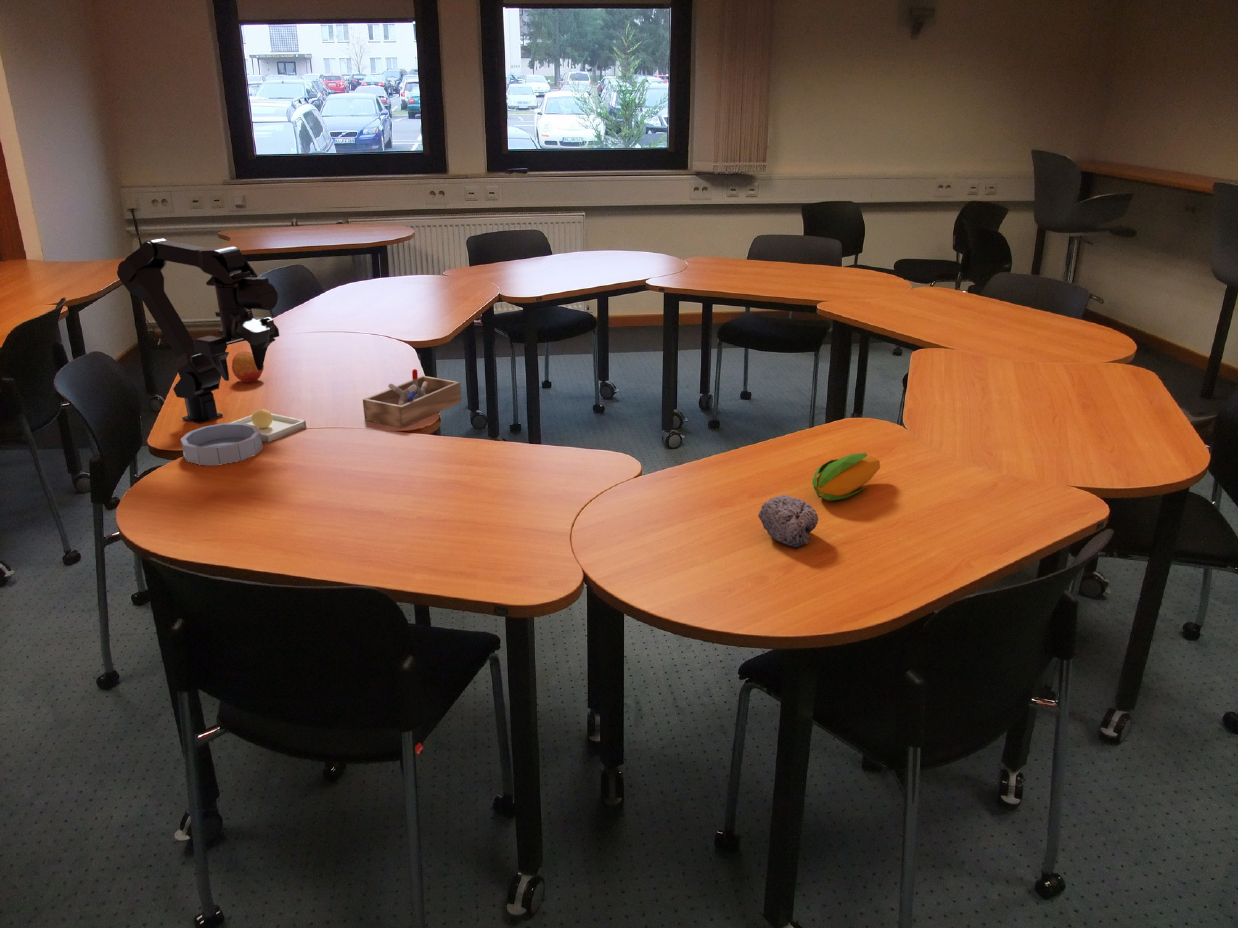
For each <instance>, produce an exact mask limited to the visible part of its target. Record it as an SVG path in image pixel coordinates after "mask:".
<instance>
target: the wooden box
mask: <svg viewBox="0 0 1238 928" xmlns="http://www.w3.org/2000/svg"><path fill="white" fill-rule="evenodd" d="M423 382H427V383H428V385H427V388H426V391H425V394H427V395H425V396H423V397H420V398H418V399H416V400H413V401H411V402H408V400H407V399H405V401H404V405H398V402H399V399H400V395H399V394H398V393H396V392H395V391H393V390H392V389H390V388H388V389H385V390H383V391H380V392H377V393H375V394H373V395H370V396H368V397H366V398H363V399H362V404H363V405H362V406H363V415H364V420H365V421H369V422H375V423H378V424H382V425H387V426H394V427H398V428H402V429H405V428H406V427H408V426H411V425H413V424H415V423H417V422H420V421H422V420H424V419H425V418H426V419H427V418H428V417H431V416H433V415H435V414H437V413H439V412H441V411H443V410H446V409H449V408H451V407H452V406H455V405H457V404H459V403H462V393H461V392H462V391H461V382H460V381H455V380H449V379H443V378H438V377H432V376H428V375H427V376H426V375H421V376H418V386H419V388H420V389H421V387H422V384H423ZM412 385H413V379H411V380H408V381H406V382H404V383H401V384H398V385H396V386H397V387H398V388H400V389H401V390H403V391H404V390H406V389H407V388H409V387H410V386H412ZM409 394H410V393H409ZM416 394H418V393H417V392H416V393H415V395H416Z"/></svg>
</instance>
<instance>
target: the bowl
mask: <svg viewBox="0 0 1238 928" xmlns="http://www.w3.org/2000/svg"><path fill="white" fill-rule="evenodd" d="M180 443H181V447H182V454H183V457H184V460H185V461H186V462H187V461H189V462H192V463H197V464H200V465H205V466H221V465H220V464H225V463H230V464H233V463H232V462H235V463H237V462H236V461H240V462H243V461H245V460H244V459H246V458H248V459H250V458H252V457H251V456H252V455H255V456H257V455H258V454H259V453H260V452H261V451H262V450H263V447H264V446H263V441H262V440H261V434H260V431H259V429H258V428H257V427H256V426H254V425H249V424H245V423H231V422H224V423H217V424H211V425H207V426H202V427H199V428H197V429H194V430H191V431H188V432H186V434H184V435H183V437H181V438H180ZM260 450H261V451H260ZM259 451H260V452H259ZM258 452H259V453H258ZM257 453H258V454H257ZM256 454H257V455H256ZM249 457H250V458H249ZM242 460H243V461H242ZM246 460H247V459H246ZM189 462H188V463H189ZM192 463H191V464H192ZM209 464H210V465H209ZM218 464H219V465H218ZM200 465H199V466H200ZM225 465H226V464H225Z"/></svg>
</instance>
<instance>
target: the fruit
mask: <svg viewBox="0 0 1238 928" xmlns="http://www.w3.org/2000/svg"><path fill="white" fill-rule="evenodd" d="M264 368H265V366H264V364H263V368H262V370H261V371H260V370H258V369H257V367H256V364H255V361H254V358H253V354H252V352H250V351H239V352H238V353H236V354H235V355H234V356H233V359H232V361H231V370H232V373H233V375H234V376H235V377H236V379H238V381H241V382H243V383H247V384H249V383H253V382H257V380H259V379H260V378H261V376H262V373H263V371H264V370H265V369H264Z"/></svg>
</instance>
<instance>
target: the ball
mask: <svg viewBox="0 0 1238 928" xmlns="http://www.w3.org/2000/svg"><path fill="white" fill-rule="evenodd" d="M251 415H252V422H253V424H254V425H255V426H256V427H258V428H267V427H269V426H270V425H271V423H272V420H273V418H272V415H271V412H270V411H269V410H268V409H266V408H259V409H257V410H255V411H253V413H252V414H251Z"/></svg>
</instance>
